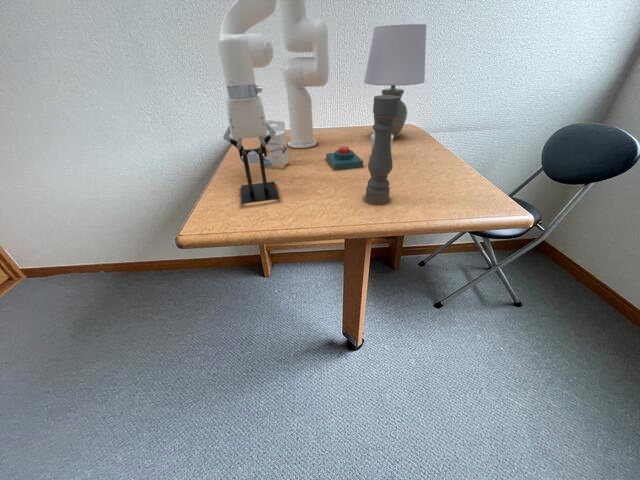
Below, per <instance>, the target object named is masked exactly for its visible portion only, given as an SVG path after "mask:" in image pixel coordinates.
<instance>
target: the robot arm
mask: <svg viewBox="0 0 640 480" xmlns="http://www.w3.org/2000/svg"><path fill="white" fill-rule="evenodd" d="M277 1H278V3H279V8H280V9H279V10H280V19H281V30H282V37H283V38H282V39H283V46H284V48H285V49H286V51H288V52H290V53H297V54H298V53H301V54H303V53H312V54H313V55H314V56H295V57H294V56H293V57H289V58H287V59H286V60H284V62H283V63H282V69H281V71H282V77H283V81H284V86H285V90H286V96H287V107H288V109H287V110H288V119H289V131H290V132H289V133H290V140H289V141H287V147H290V148H293V149H309V148H313V147H315V146H317V144H318V140H317V139H315V138H314V128H313V127H314V125H313V107H312V106H313V103H312V96H311V95H310V93H309V91H308V90H307V88H308V87H309V88H310V87H311V88H314V87H315V88H316V87H317V88H319V87H320V88H321V87H324V86H327V84H328V81H329V78H330V77H329V75H330V63H329V61H330V59H329V57H330V56H329V55H330V54H329V32H328V27H327V23H326V22H325V20H324V19H322V18H319V17H313V18H312V17H311V18H307V13H306V12H307V11H306V0H235V1H234V3H233V4H232V5H231V6H230V7H229V9H228V10H227V11H226V13H225V15H224V17H223V19H222V21H221V25H220V31H219V35H218V38H217V47H218V54H219V57H220V62H221V67H222V72H223V76H224V81H225V88H226V91H227V96H228V98H226V101H225V102H226V103H225V105H226V112H227V113H226V114H227V121H228V126H227V128H226V130H225V132H224V134H223V136H222V139H223V140H225V141H227V142H228V143H230V144H231V145H232V146H234V147H235V148H236V149H237V150H238V154H239V159H240V160H242V159H241V156H243V155H242V149H245V148H244V146H243V143H242V142H243V139H253V138H258V137H259V140H260V142H261V145H260V146H261V149H262V154H264V156H265V157H266V156H267V154H266V147H265V146H266V145H267V143H268V142H269V141H270V139H271V138H272V137H273V136H274V135H275V134H276V132H275V131H274V130H273V129H272V128H271V126H272V125H271V124H270V125H269V124H268V123H267V122H266V121H267V120H266V113H265V110H264V105H263V101H262V98H261V97H260V96H258V94H260V93H262V92H263V87H262V86H260V85H257V84H256V78H255V71H254V69H262V68H266V67H267V66H269V65H270V64H271V62H272V60H273V57H274V48H273V45H272V42H271V41H270V39H269V38H268V37H267V36H266V35H264V34H262V33H246V32H247V31H248V30H250V29H251V28H252V27H254V26H256V25H258V24H260V23H261V22H263V21H265V20H266V19H268V18H269V17H270V16H272V15H273V14H274V13H275V11H276V8H277ZM267 130H268V131H269V134H268V135H267V136H266V137H265V138H264V137H263V136H265V135H266V134H267ZM230 135H231V136H230ZM236 139H237V140H236ZM259 140H258V141H259ZM263 160H265V159H263ZM242 162H243V164H244V161H242Z"/></svg>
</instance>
